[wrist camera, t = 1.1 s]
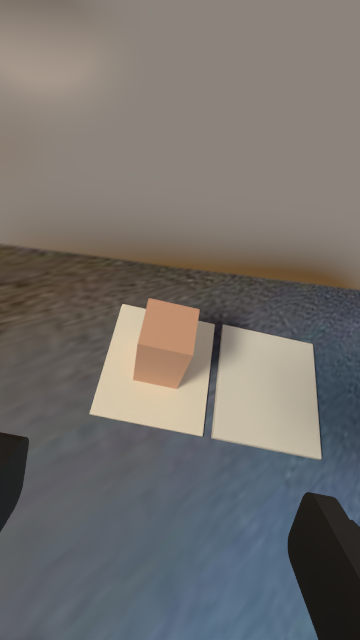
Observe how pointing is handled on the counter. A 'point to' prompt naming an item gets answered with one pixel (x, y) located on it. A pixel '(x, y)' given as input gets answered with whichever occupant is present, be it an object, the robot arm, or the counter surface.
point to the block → (165, 343)
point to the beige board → (266, 393)
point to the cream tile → (149, 399)
